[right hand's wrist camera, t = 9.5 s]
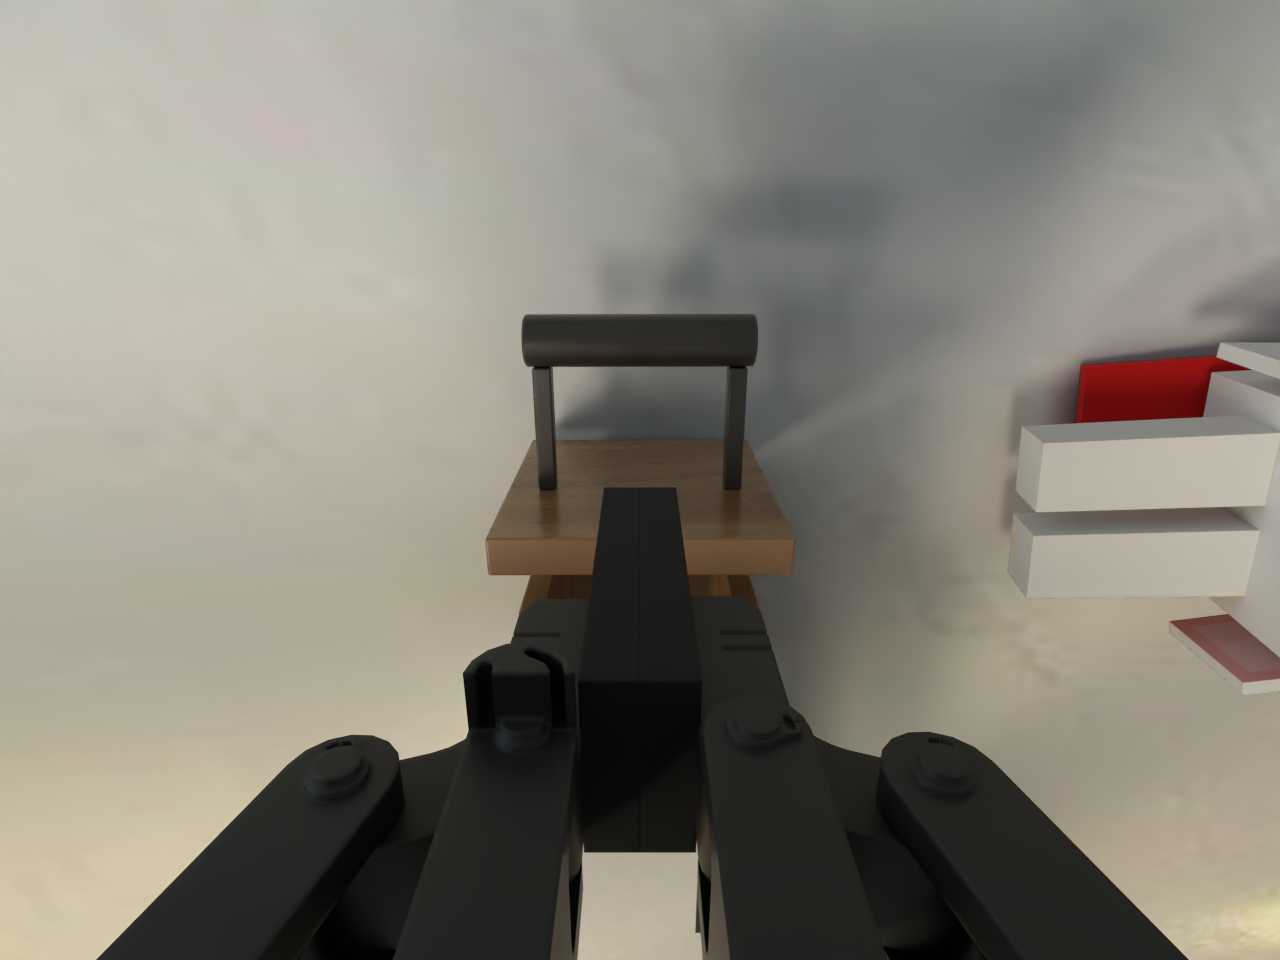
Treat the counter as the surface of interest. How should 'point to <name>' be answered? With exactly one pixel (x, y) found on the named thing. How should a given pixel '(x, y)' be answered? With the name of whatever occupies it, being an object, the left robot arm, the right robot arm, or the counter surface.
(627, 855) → the cabinet
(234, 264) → the counter surface
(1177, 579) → the toy
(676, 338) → the drawer
